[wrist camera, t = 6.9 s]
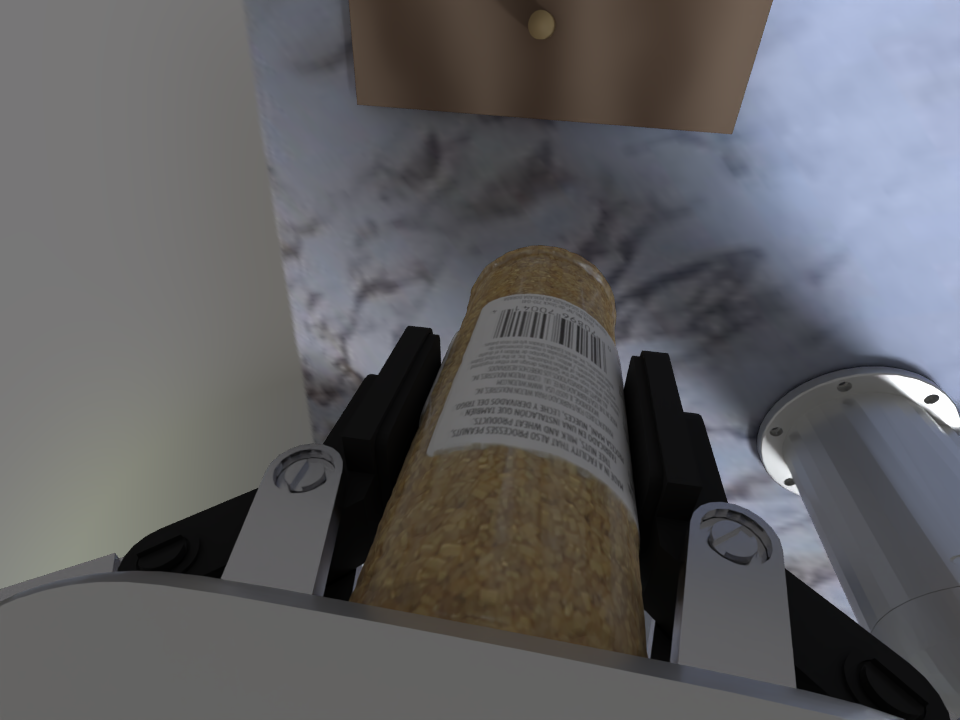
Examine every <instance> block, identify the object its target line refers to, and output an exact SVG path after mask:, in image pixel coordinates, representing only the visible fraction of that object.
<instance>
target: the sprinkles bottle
mask: <svg viewBox="0 0 960 720" xmlns="http://www.w3.org/2000/svg"><path fill="white" fill-rule="evenodd" d="M615 323H616V309H615V300H614V296H613V293H612V290H611V288H610V286H609V284H608V282H607V281H606V279H605V278H604V276H603V274H602V273H601V272H600V271H599V270H598V269H597V268H596V267H595V265H593V264H592V263H590V262H589V261H587V260H586V259H584V258H583V257H581V256H580V255H578V254H575V253H572V252H569V251H568V250H566V249H562V248H558V247H550V246H542V245H538V246H528V247H524V248H519V249H516V250H514V251H510V252H507V253H506V254H504V255H503V256H501V257H499V258H497V259H496V260H495V261H493V262H491V263H490V264H489V265H487V266H486V267H485V269H484V270H483V271H482V272H481V274H480V275H479V277H478V279H477V281H476V282H475V284H474V285H473V287H472V290H471V296H470V300H469V304H468V307H467V313H466V316H465V318H464V320H463V322H462V325H461V328H460V330H459V331H458V332H457V333H456V334H455V335H454V337H453V339H452V341H451V343H450V345H449V348H448V350H447V352H446V355H445V357H444V359H443V362H442V364H441V366H440V369H439V371H438V373H437V376H436V378H435V381H434V383H433V386H432V388H431V390H430V393H429V395H428V397H427V400H426V402H425V405H424V407H423V410H422V412H421V415H420V420H419V428H418V430H417V432H416V434H415V437H414V439H413V441H412V443H411V447H410V449H409V451H408V453H407V455H406V458H405V461H404V463H403V466H402V469H401V471H400V473H399V476H398V478H397V482H396V485H395V487H394V488H393V491H392V495H391V497H390V499H389V501H388V502H387V505H386V508H385V511H384V514H383V517H382V519H381V521H380V523H379V524H378V528H377V532H376V535H375V538H374V542H373V544H372V546H371V548H370V551H369V553H368V556H367V558H366V561H365V563H364V565H363V567H362V569H361V572H360V574H359V577H358V579H357V582H356V587H355V589H354V591H353V593H352V595H351V597H350V599H349V602H354V603H360V604H365V605H371V606H376V607H381V608H387V609H392V610H398V611H403V612H408V613H414V614H419V615H424V616H430V617H435V618H440V619H446V620H451V621H456V622H462V623H467V624H472V625H478V626H483V627H488V628H493V629H499V630H504V631H509V632H514V633H520V634H525V635H530V636H536V637H541V638H546V639H551V640H557V641H562V642H567V643H572V644H577V645H582V646H588V647H593V648H598V649H603V650H608V651H613V652H618V653H624V654H629V655H634V656H639V657H644V658H648V654H647V649H646V629H645V616H644V607H643V599H642V585H641V579H640V566H639V551H640V532H639V523H638V515H637V506H636V496H635V487H634V478H633V469H632V460H631V451H630V442H629V433H628V425H627V416H626V407H625V398H624V389H623V379H622V371H621V364H620V358H619V355H618V351H617V349H616V345H615V334H614V328H615Z"/></svg>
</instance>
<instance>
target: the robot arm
mask: <svg viewBox="0 0 960 720" xmlns="http://www.w3.org/2000/svg"><path fill="white" fill-rule="evenodd" d="M440 366H441V351H440V337H439V335H435V334H433V332H432V329H431V328H424V327H415V326H408V327H407V328H406V330H405V331H404V333H403V334H402V336H401V338H400V339H399V341H398V343H397V344H396V346H395V348H394V349H393V351H392V353H391V354H390V356H389V358H388V359H387V361H386V363H385V364H384V366H383V368H382V369H381V371H380V373H379V374H378V375H374V374H370V375H367V377H366V378H365V379H364V380H363V382H362V384H361V385H360V387H359V388H358V390H357V391H356V393H355V395H354V396H353V398H352V399H351V401H350V402H349V404H348V406H347V407H346V409H345V410H344V412H343V414H342V415H341V417H340V418H339V420H338V421H337V423H336V425H335V426H334V428H333V429H332V431H331V432H330V434H329V436H328V437H327V439H326V440H325V442H324V443H323V444H307V445H300V446H297V447H294V448H292V449H289V450H287V451H286V452H284V453H282V454H280V455H279V456H278V457H277V458H276V459H274V460H273V461H272V462H271V463H270V465H269V467H268V468H267V470H266V472H265V474H264V476H263V479H262V481H261V483H260V486H259V488H257V489H254V490H252V491H250V492H247V493H245V494H242V495H240V496H238V497H235V498H233V499H230V500H228V501H226V502H223V503H221V504H219V505H216V506H214V507H211V508H209V509H207V510H204V511H202V512H199V513H197V514H195V515H192V516H190V517H187V518H185V519H183V520H180V521H178V522H176V523H173V524H171V525H168V526H166V527H164V528H161V529H159V530H157V531H155V532H153V533H151V534H149V535H148V536H146V537H144V538H143V539H142V540H141V541H139V542H138V543H137V544H135V545H134V546H133V547H132V548H131V549H130V551H129V552H128V553H127V554H126V555H125V556H124V557H122V558H118V556H117V555H116V554H115V553H113V554H110V555H107V556H104V557H101V558H97V559H94V560H91V561H88V562H85V563H82V564H78V565H75V566H72V567H69V568H66V569H63V570H59V571H56V572H53V573H50V574H47V575H44V576H41V577H37V578H34V579H31V580H28V581H25V582H21V583H18V584H16V585H12V586H9V587H6V588H3V589H0V720H960V437H959V435H960V415H959V412H958V410H957V407H956V405H955V403H954V402H953V401H952V400H951V399H950V398H949V396H948V395H947V394H946V393H945V392H944V391H943V390H942V389H941V388H940V387H938V386H937V385H936V384H935V383H934V382H932V381H931V380H929V379H927V378H925V377H923V376H921V375H919V374H917V373H913V372H910V371H907V370H903V369H898V368H891V367H883V366H879V367H857V368H850V369H843V370H839V371H836V372H832V373H828V374H825V375H822V376H819V377H817V378H815V379H812V380H810V381H808V382H805V383H804V384H802V385H800V386H798V387H797V388H795V389H793V390H792V391H790V392H789V393H788V394H786V395H785V396H784V397H783V398H781V399H780V400H779V401H778V402H777V403H776V404H775V405H774V406H773V407H772V408H771V410H770V411H769V412H768V413H767V415H766V416H765V418H764V420H763V422H762V424H761V425H760V429H759V433H758V437H757V449H758V452H759V456H760V459H761V461H762V463H763V466H764V468H765V470H766V472H767V473H768V474H769V475H770V476H771V478H772V479H773V480H774V481H775V482H776V483H778V484H779V485H780V486H782V487H783V488H785V489H787V490H789V491H791V492H793V493H795V494H797V495H800V496H801V498H802V500H803V502H804V505H805V507H806V509H807V511H808V513H809V516H810V518H811V520H812V522H813V524H814V527H815V529H816V531H817V533H818V535H819V538H820V540H821V542H822V544H823V546H824V549H825V551H826V553H827V555H828V557H829V560H830V562H831V564H832V566H833V569H834V571H835V573H836V575H837V577H838V580H839V582H840V584H841V586H842V588H843V591H844V593H845V595H846V597H847V599H848V602H849V604H850V606H851V608H852V610H853V613H854V615H855V617H856V619H857V621H858V624H857V623H856V622H855V621H854V620H852V619H851V618H850V617H848V616H847V615H846V614H844V613H843V612H842V611H840V610H839V609H838V608H836V607H835V606H834V605H832V604H831V603H830V602H829V601H827V600H826V599H825V598H823V597H822V596H821V595H819V594H818V593H817V592H815V591H814V590H813V589H811V588H810V587H809V586H808V585H806V584H805V583H804V582H802V581H801V580H800V579H798V578H797V577H796V576H794V575H793V574H792V573H790V572H789V571H788V570H786V569H785V566H784V556H783V549H782V546H781V542H780V539H779V538H778V536H777V535H776V533H775V532H774V530H773V529H772V528H771V527H770V526H769V525H768V524H767V523H766V522H765V521H764V520H763V519H762V518H761V517H759V516H757V515H756V514H754V513H753V512H751V511H750V510H748V509H745V508H743V507H740V506H738V505H735V504H730V503H728V502H727V498H726V495H725V492H724V488H723V485H722V482H721V478H720V475H719V472H718V468H717V465H716V462H715V458H714V455H713V452H712V448H711V445H710V442H709V438H708V435H707V432H706V428H705V425H704V422H703V419H702V417H701V415H699V414H696V413H688V412H683V408H682V405H681V401H680V397H679V393H678V389H677V385H676V381H675V377H674V373H673V369H672V365H671V361H670V357H669V355H668V353H661V352H651V351H642V352H641V354H640V357H639V356H632V357H631V360H630V364H629V369H628V373H627V377H626V382H625V386H624V398H625V407H626V416H627V425H628V433H629V442H630V451H631V460H632V469H633V478H634V487H635V496H636V506H637V515H638V523H639V532H640V551H639V566H640V579H641V585H642V599H643V607H644V610H645V611H646V612H647V613H648V614H649V615H650V616H651V617H652V620H651V625H650V632H649V639H648V646H647V654H648V658H644V657H639V656H634V655H629V654H624V653H618V652H613V651H608V650H603V649H598V648H593V647H588V646H582V645H577V644H572V643H567V642H562V641H557V640H551V639H546V638H541V637H536V636H530V635H525V634H520V633H514V632H509V631H504V630H499V629H493V628H488V627H483V626H478V625H472V624H467V623H462V622H456V621H451V620H446V619H440V618H435V617H430V616H424V615H419V614H414V613H408V612H403V611H398V610H392V609H387V608H381V607H376V606H371V605H365V604H360V603H354V602H349V599H350V597H351V595H352V593H353V591H354V589H355V587H356V582H357V579H358V577H359V574H360V572H361V569H362V564H364V563H365V561H366V558H367V556H368V553H369V551H370V548H371V546H372V544H373V542H374V538H375V535H376V532H377V528H378V524H379V523H380V521H381V519H382V517H383V514H384V511H385V508H386V505H387V502H388V501H389V499H390V497H391V495H392V491H393V488H394V487H395V485H396V482H397V478H398V476H399V473H400V471H401V469H402V466H403V463H404V461H405V458H406V455H407V453H408V451H409V449H410V447H411V443H412V441H413V439H414V437H415V434H416V432H417V430H418V428H419V420H420V415H421V412H422V410H423V407H424V405H425V402H426V400H427V397H428V395H429V393H430V390H431V388H432V386H433V383H434V381H435V378H436V376H437V373H438V371H439V369H440Z"/></svg>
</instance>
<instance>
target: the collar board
mask: <svg viewBox="0 0 960 720" xmlns="http://www.w3.org/2000/svg"><path fill="white" fill-rule="evenodd" d="M772 2H773V0H349V9H350V22H351V34H352V46H353V58H354V71H355V83H356V95H357V105H368V106H381V107H393V108H406V109H419V110H431V111H444V112H457V113H470V114H482V115H495V116H508V117H520V118H533V119H546V120H558V121H571V122H584V123H596V124H609V125H622V126H634V127H647V128H660V129H672V130H685V131H698V132H711V133H723V134H732V133H733V130H734V126H735V123H736V120H737V117H738V113H739V110H740V107H741V104H742V100H743V97H744V94H745V90H746V87H747V84H748V81H749V77H750V74H751V71H752V67H753V64H754V61H755V58H756V54H757V51H758V48H759V44H760V41H761V38H762V35H763V31H764V28H765V25H766V22H767V18H768V15H769V12H770V8H771V5H772Z"/></svg>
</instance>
